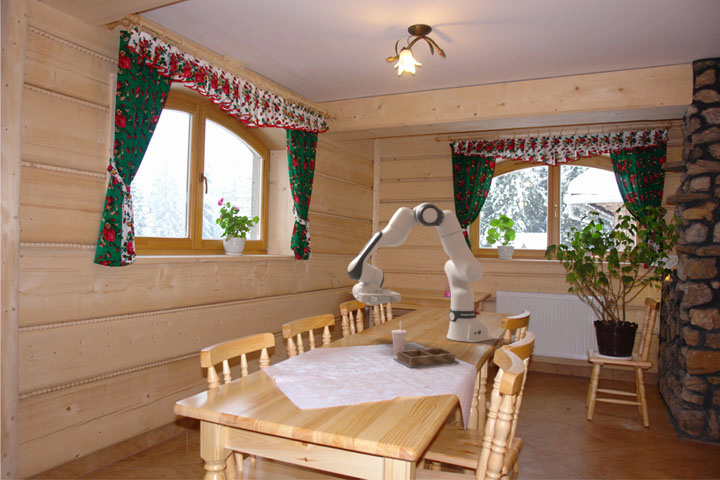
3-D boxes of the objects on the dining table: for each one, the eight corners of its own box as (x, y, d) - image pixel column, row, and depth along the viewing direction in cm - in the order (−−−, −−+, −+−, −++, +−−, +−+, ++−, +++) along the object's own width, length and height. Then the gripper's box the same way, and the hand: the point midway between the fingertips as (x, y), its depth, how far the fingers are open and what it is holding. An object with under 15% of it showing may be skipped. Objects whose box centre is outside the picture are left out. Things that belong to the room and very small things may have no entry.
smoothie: (406, 356, 196) (407, 322, 196) (391, 355, 196) (391, 321, 196) (405, 352, 202) (406, 319, 202) (390, 352, 203) (391, 319, 202)
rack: (440, 355, 197) (440, 347, 197) (454, 361, 188) (455, 353, 188) (397, 359, 189) (397, 351, 189) (410, 366, 180) (410, 358, 180)
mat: (440, 355, 199) (440, 354, 199) (458, 363, 187) (458, 361, 187) (393, 359, 190) (393, 358, 190) (409, 368, 178) (409, 367, 178)
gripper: (353, 288, 217) (366, 293, 205) (392, 288, 226) (407, 292, 214) (352, 302, 217) (365, 307, 205) (391, 302, 226) (406, 307, 214)
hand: (387, 300), depth 209 cm, fingers open, 8 cm apart
